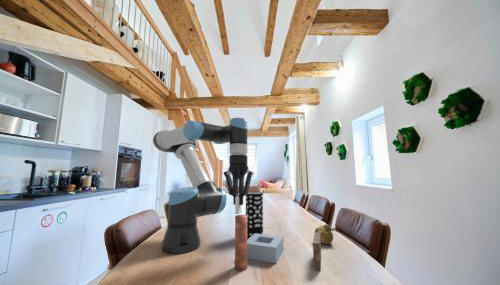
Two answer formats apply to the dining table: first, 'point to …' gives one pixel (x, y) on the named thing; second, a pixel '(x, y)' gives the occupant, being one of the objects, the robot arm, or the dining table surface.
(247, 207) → the white-spotted black cylinder
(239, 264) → the dowel
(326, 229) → the onion
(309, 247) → the dining table surface
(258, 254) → the socket block
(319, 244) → the walnut wall
